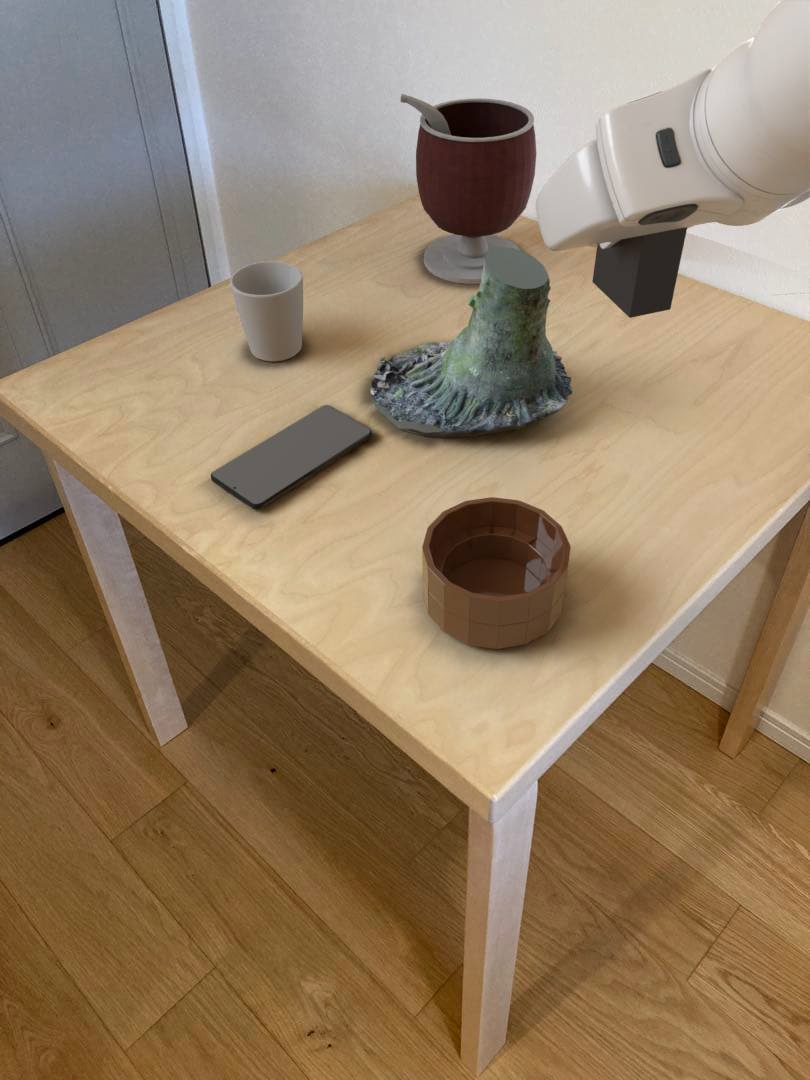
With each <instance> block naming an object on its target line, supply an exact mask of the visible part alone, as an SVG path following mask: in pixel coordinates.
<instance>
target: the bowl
mask: <svg viewBox="0 0 810 1080" xmlns="http://www.w3.org/2000/svg"><path fill="white" fill-rule="evenodd" d="M571 547H572V546H571V544H570V542H569V539H568V537H567V535H566V533H565V530H564V528H563V526H562V525H561V524H560V523H559V522H558V521H556V520H555V518H553V517H552V516H550V514H549V513H547V512H546V511H545V510H543V509H541V508H539V507H536V506H534V505H532V504H529V503H526V502H524V501H522V500H519V499H511V498H503V497H494V496H491V497H483V498H477V499H469V500H465V501H462V502H460V503H458V504H456V505H453V506H452V507H450V508H449V507H448V508H447V509H444V510H443V511H442V512H441V513H440V514H439V515H438V516H437V517H436V518H435V519H434V520H433V521H432V522H431V523H430V524H429V526H428V527H427V528H426V532H425V536H424V538H423V543H422V546H421V552H422V553H421V555H422V556H421V558H422V559H421V561H422V562H421V563H422V597H423V599H424V603H425V607H426V611H427V614H428V616H429V617H430V618H431V619H432V620H433V622H434V623H435V624H436V625H437V626H438V627H439V628H440V629H441V630H442V632H444V634H446V635H448V636H450V637H452V638H454V639H456V640H458V641H460V642H462V643H464V644H466V645H467V646H468V645H469V646H473V647H480V648H486V649H493V650H494V649H495V650H497V649H498V650H501V649H506V648H513V647H518V646H525V645H527V644H529V643H531V642H532V641H534V640H536V639H538V638H540V637H541V636H543V635H546V634H547V633H548V632H550V630H551V628H552V627H553V626H554V625H555V623H556V622H557V620H558V619H559V618H560V616H561V615H562V611H563V604H564V599H565V591H566V586H567V585H566V584H567V578H568V572H569V566H570V565H569V564H570V556H571V549H572V548H571Z"/></svg>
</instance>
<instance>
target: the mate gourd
mask: <svg viewBox="0 0 810 1080" xmlns="http://www.w3.org/2000/svg"><path fill="white" fill-rule="evenodd" d="M399 101H400V103H403V104H408V105H410V106H411V107H413V108H414V109H416V110H417V111H418V112H419V113H420V114H421V115H420V119H419V128H418V133H417V141H416V148H415V177H416V183H417V191H418V195H419V199H420V202H421V205H422V208H423V210H424V211H425V213H426V214H427V215H428V216H429V218H430V219H431V220H432V221H433V223H434V224H435V225H436V226H437V228H438V229H441V230H442V231H443V232H447V233H449V234H451V235H447V236H443V237H441V238H439V239H436V240H435V241H433V242H432V243H430V244H429V245H428V246H427V247H426V248H425V250H424V253H423V264H424V266H425V268H426V269H427V271H428V272H429V273H431V275H433V276H435V277H437V278H439V279H441V280H444V281H447V282H452V283H456V284H464V285H480V283H481V276H482V273H483V268H484V262H485V256H486V254H487V252H488V250H491V249H493V248H499V247H506V248H514V249H517V250H520V251H521V249H520V248H519V247H518V245H516V243H514V242H513V241H510V240H509V239H506V238H505V237H502V236H498V235H496V234H499V233H502V232H504V231H506V230H508V229H509V228H510V227H511V226H512V225H513V224H515V222H516V221H517V220H518V218H519V217H520V216H521V215H522V214H523V213H524V211H525V210H526V208H527V205H528V203H529V200H530V197H531V194H532V189H533V185H534V181H535V175H536V165H537V164H536V163H537V141H536V131H535V125H534V123H535V117H534V114H533V113H532V111H530V110H529V109H528V108H526V107H524V106H522V105H520V104H518V103H514V102H511V101H507V100H502V99H495V98H479V97H478V98H477V97H476V98H461V99H460V98H459V99H453V100H449V101H445V102H440V103H438V104H435V105H431V103H428V102H425V101H424V100H422V99H419V98H416V97H414V96H411V95H407V94H404V93H401V95H400V100H399Z"/></svg>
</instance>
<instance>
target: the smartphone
mask: <svg viewBox="0 0 810 1080" xmlns="http://www.w3.org/2000/svg"><path fill="white" fill-rule="evenodd" d="M372 436H373V430H372V429H371V428H370V427H368V426H366V425H365V424H363V423H361V422H360V421H357V420H356V419H354V418H352V417H350V416H348V415H347V414H345V413H343V412H342V411H340V410H338V409H337V408H335V407H333V406H331V405H328V404H324V405H322V406H320V407H318V408H316V409H315V410H313V411H312V412H310V413H308V414H307V415H305V416H303V417H302V418H299V419H298V420H296V421H295V422H293V423H292V424H290V425H288V426H287V427H285V428H283V429H282V430H280V431H278V432H276V433H274V434H273V435H272V436H270V437H269V438H266V439H265V440H263V441H262V442H260V443H258V444H257V445H254V446H253V447H252V448H250V449H248V450H246V451H245V452H243V453H241V454H240V455H238V456H237V457H234V458H233V459H231V460H230V461H228V462H226V463H225V464H223V465H221V466H220V467H218V468H216V469H215V470H213V471H212V472H211V473H210V480H211V482H213V483H214V484H215V485H217V486H218V487H220V488H221V489H222V490H224V491H225V492H227V493H228V494H230V495H231V496H233V497H234V498H236V499H237V500H238V501H240V502H242V503H243V504H245V505H246V506H248V507H249V508H250V509H252V510H255V511H258V510H262V509H263V508H265V507H266V506H268V505H269V504H271V503H273V502H274V501H275V500H277V499H278V498H280V497H282V496H284V495H285V494H287V493H288V492H289V491H291V490H292V489H294V488H296V487H297V486H299V485H300V484H302V483H303V482H305V481H306V480H308V479H309V478H311V477H313V476H314V475H316V474H317V473H318V472H320V471H322V470H323V469H325V468H326V467H329V465H331V464H332V463H334V462H336V461H337V460H339V459H340V458H341V457H344V456H345V455H347V454H348V453H349V452H351V451H353V450H354V449H355V448H357V447H359V446H361V445H362V444H363V443H365V442H366V441H368V440H370V439H371V438H372Z"/></svg>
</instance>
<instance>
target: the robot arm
mask: <svg viewBox="0 0 810 1080" xmlns="http://www.w3.org/2000/svg"><path fill="white" fill-rule="evenodd" d="M594 128H595V133H596V134H595V136H596V138H595V139H593V140H591V141H590V142H587V143H586V144H584V145H582V146H581V147H579V148H578V149H577V150H576V151H574V152H573V153H572V154H571V155H570V156H569V157H568V158H566V159H565V161H564V162H563V163H562V164H561V165H560V167H558V169H557V170H556V171H555V172H554V173H553V175H551V177H550V178H549V180H548V181H547V182H546V183H545V184H544V186H543V187H542V189H541V190H540V191H539V192H538V195H537V197H536V199H535V213H536V218H537V223H538V227H539V231H540V234H541V237H542V240H543V243H544V245H545V247H547V249H549V250H550V251H551V252H563V251H569V250H573V249H578V248H584V247H589V246H593V245H594V246H595V245H597V244H600V247H601V248H602V249H607V248H613V247H617V246H621V245H622V243H625V242H626V241H627V240H628V239H629V238H632V237H637V236H643V235H648V234H653V233H659V232H664V231H669V230H675V229H680V228H685V227H687V230H688V229H690V228H693V227H695V226H701V225H706V224H711V223H717V224H720V225H724V226H731V227H743V226H744V227H745V226H750V225H753V224H756V223H759V222H761V221H763V220H765V219H767V218H769V217H770V216H771V215H773V214H775V213H776V212H778V211H782V210H785V209H789V208H792V207H795V206H797V205H799V204H801V203H803V202H805V201H807V200H809V199H810V0H779V1H778V2H777V3H776V4H775V5H774V6H773V8H772V9H770V10H769V12H768V13H767V14H766V16H765V17H764V18H763V20H762V21H761V23H760V25H759V26H758V29H757V30H756V33H755V34H754V37H751V38H749V39H747V40H746V41H743V42H742V43H740V44H738V45H737V46H736V47H734V48H733V49H731V50H730V51H729V52H728V53H727V54H726V55H725V56H724V57H723V58H722V59H721V60H720V61H719V62H718V63H717V64H716V65H715V66H714V67H713V68H712V69H710V68H707V69H704V70H701V71H700V72H698V73H695V74H694V75H692V76H691V77H689V78H687V79H686V80H684V81H682V82H680V83H678V84H676V85H674V86H672V87H669V88H667V89H665V90H662V91H659V92H655V93H653V94H650V95H648V96H645V97H642V98H639V99H635V100H633V101H630V102H626V103H625V104H621V105H618V106H616V107H613V108H611V109H609V110H607V111H606V112H605V113H603V114H602V115H601V116H600V118H599V119H598V120H597V122H596V124H595V127H594Z"/></svg>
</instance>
